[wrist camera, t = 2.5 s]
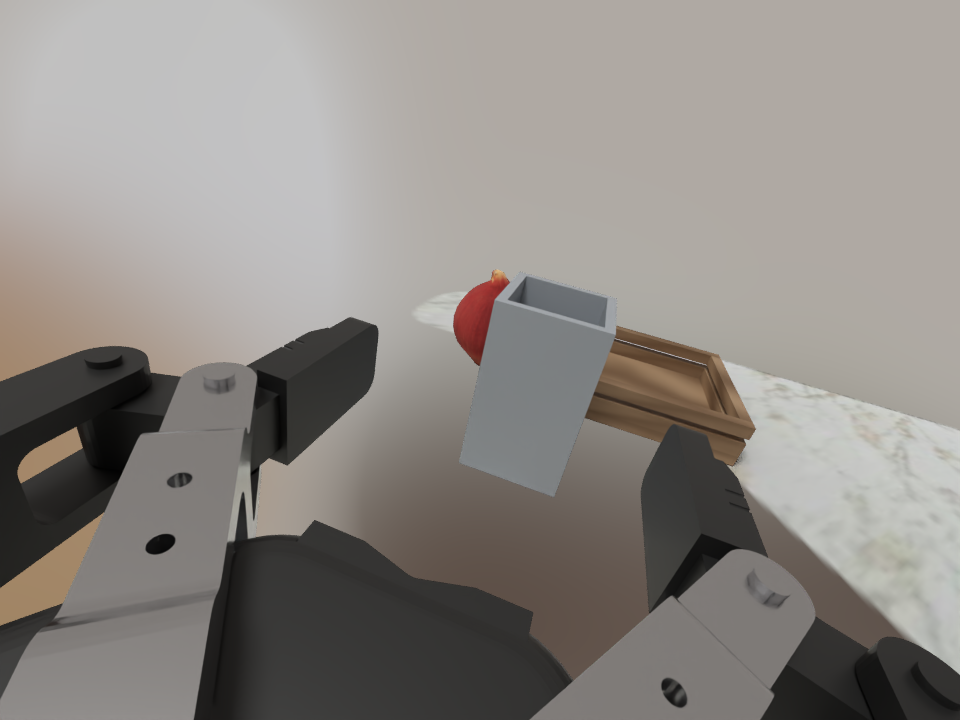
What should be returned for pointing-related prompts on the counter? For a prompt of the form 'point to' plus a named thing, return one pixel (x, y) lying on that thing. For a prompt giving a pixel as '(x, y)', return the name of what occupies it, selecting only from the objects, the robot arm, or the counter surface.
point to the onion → (477, 315)
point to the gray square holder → (537, 379)
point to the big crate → (670, 393)
